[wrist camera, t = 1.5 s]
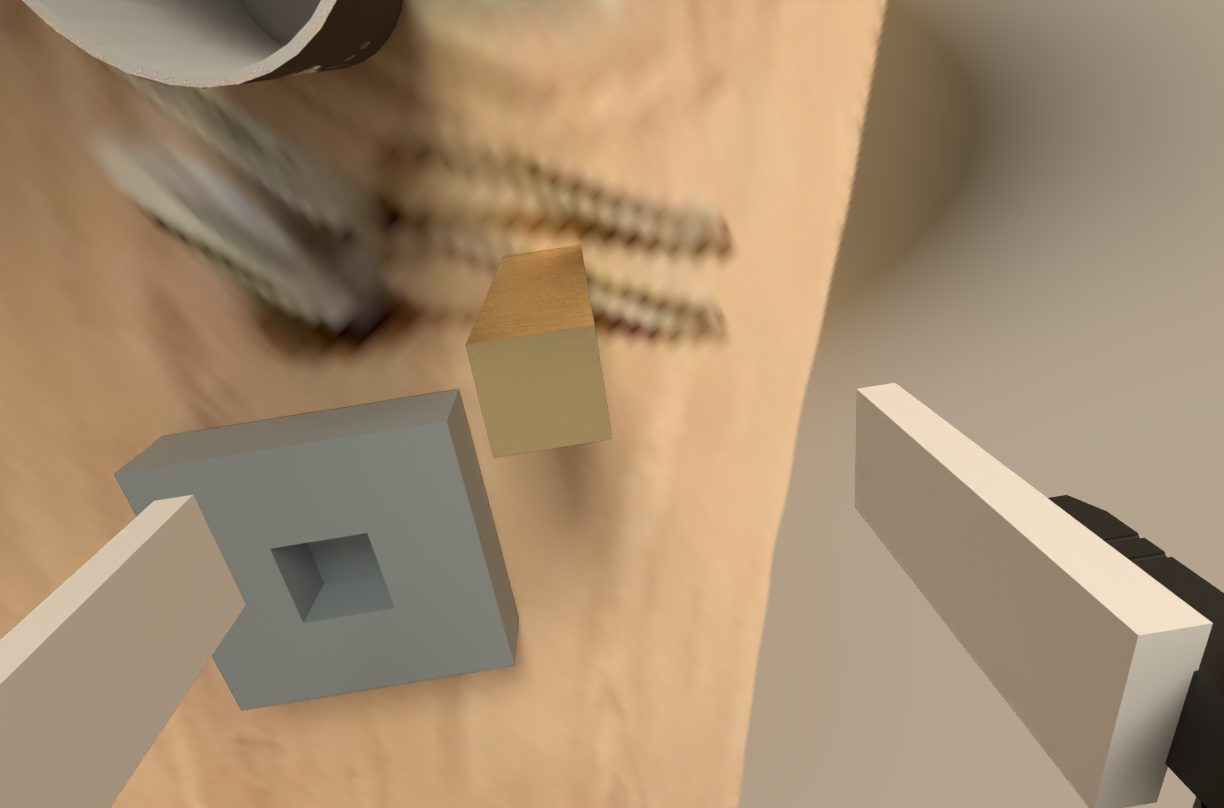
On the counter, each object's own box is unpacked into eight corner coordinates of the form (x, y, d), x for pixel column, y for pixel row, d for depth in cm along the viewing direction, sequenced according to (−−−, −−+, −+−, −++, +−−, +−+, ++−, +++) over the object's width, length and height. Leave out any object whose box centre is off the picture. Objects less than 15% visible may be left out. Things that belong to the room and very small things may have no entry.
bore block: (161, 436, 30) (113, 474, 26) (458, 389, 30) (446, 420, 26) (270, 657, 35) (241, 710, 32) (518, 616, 35) (514, 665, 32)
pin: (502, 257, 27) (465, 344, 16) (580, 244, 27) (594, 324, 17) (518, 331, 29) (493, 458, 18) (592, 319, 29) (612, 438, 18)
